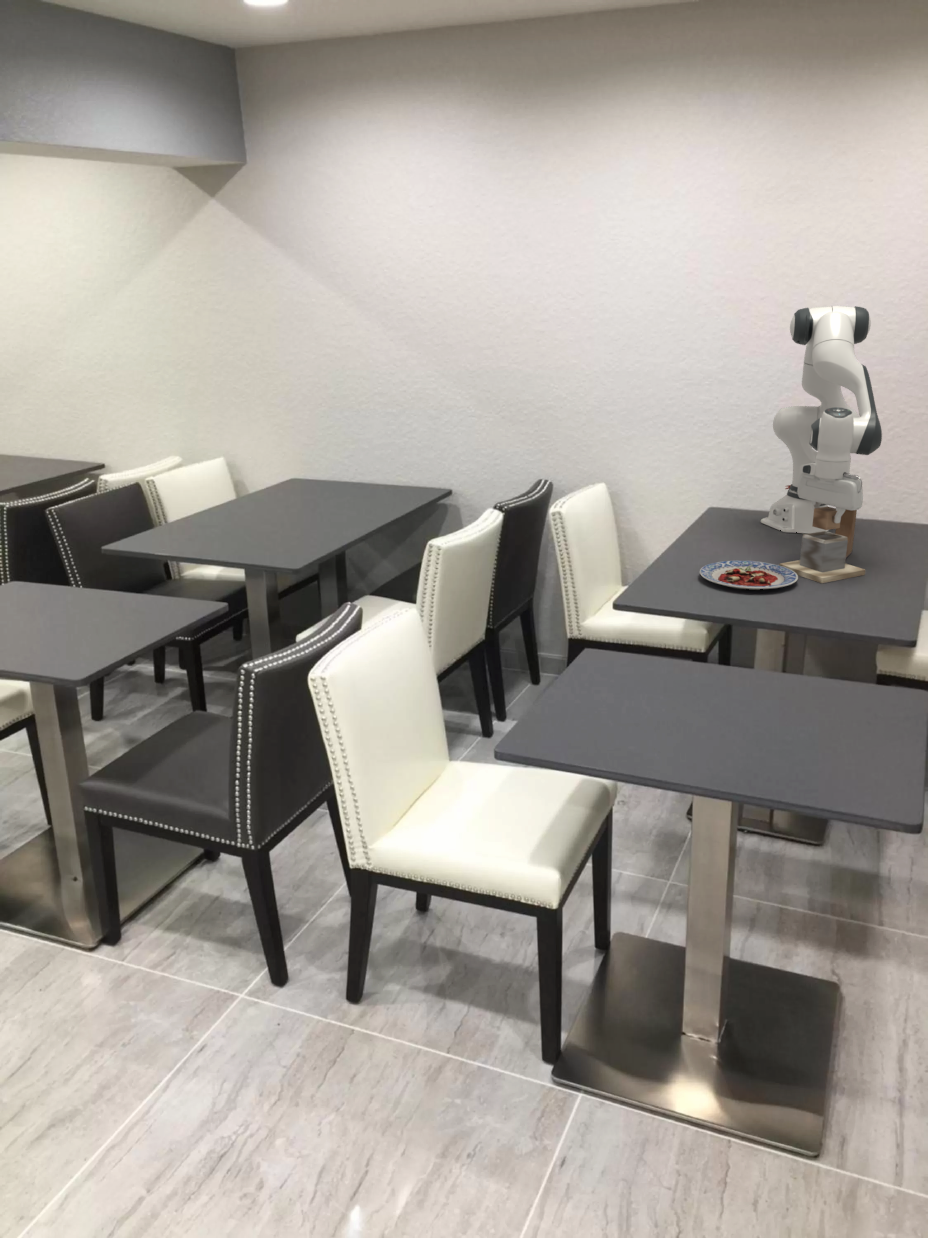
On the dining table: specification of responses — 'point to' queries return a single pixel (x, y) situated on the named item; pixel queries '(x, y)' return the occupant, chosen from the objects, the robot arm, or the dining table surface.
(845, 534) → the wooden block
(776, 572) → the ceramic plate
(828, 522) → the walnut cube
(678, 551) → the dining table surface
